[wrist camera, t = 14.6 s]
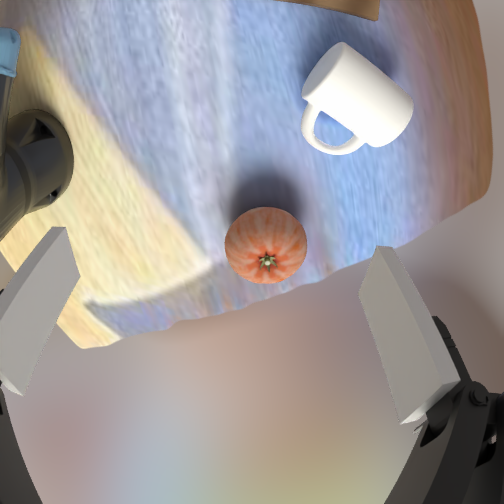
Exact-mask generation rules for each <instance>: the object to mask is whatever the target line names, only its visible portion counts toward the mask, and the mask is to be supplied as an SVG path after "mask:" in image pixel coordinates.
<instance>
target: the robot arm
mask: <svg viewBox="0 0 504 504" xmlns="http://www.w3.org/2000/svg"><path fill="white" fill-rule="evenodd" d="M20 45H21V39H20V35H19V34H18V32H17V31H16V30H14V29H11V28H3V27H0V241H1V240H2V239H3V238H4V237H5V236H6V234H7V233H8V232H9V231H10V230H11V229H12V228H13V227H14V226H15V224H16V223H17V222H18V221H19V220H20V219H21V218H22V217H23V216H24V215H26V214H28V213H31V212H34V211H36V210H39V209H42V208H44V207H47V206H49V205H50V204H52V203H53V202H55V201H56V200H57V199H58V198H59V197H60V196H61V195H62V194H63V193H64V192H65V190H66V189H67V187H68V185H69V183H70V181H71V178H72V174H73V165H74V160H73V151H72V146H71V143H70V140H69V138H68V135H67V133H66V131H65V130H64V128H63V127H62V125H61V124H60V123H59V122H58V121H57V120H56V119H55V118H54V117H53V116H52V115H50V114H48V113H47V112H44V111H41V110H27V111H24V112H22V113H20V114H17V115H15V116H13V117H12V118H10V119H9V120H8V115H9V107H10V99H11V93H12V87H13V82H14V77H16V75H17V72H16V66H17V60H18V55H19V50H20ZM79 278H80V274H79V271H78V268H77V265H76V261H75V258H74V255H73V251H72V248H71V245H70V241H69V237H68V234H67V230H66V227H52V228H51V229H50V230H49V231H48V232H47V234H46V235H45V236H44V237H43V238H42V240H41V241H40V242H39V243H38V245H37V246H36V247H35V248H34V250H33V251H32V252H31V253H30V255H29V256H28V257H27V259H26V260H25V261H24V262H23V264H22V265H21V267H20V268H19V269H18V271H17V272H16V273H15V275H14V276H13V278H12V279H11V280H10V282H9V283H8V285H7V286H6V288H5V289H2V290H1V291H0V386H1V384H2V383H3V384H4V385H5V386H6V387H7V388H8V389H9V390H10V391H12V392H14V393H16V394H19V395H22V396H24V395H25V392H26V390H27V387H28V384H29V382H30V379H31V377H32V374H33V372H34V369H35V367H36V364H37V362H38V360H39V357H40V355H41V353H42V351H43V349H44V346H45V344H46V342H47V340H48V338H49V336H50V334H51V331H52V329H53V327H54V325H55V323H56V321H57V319H58V317H59V315H60V313H61V311H62V309H63V307H64V305H65V304H66V302H67V300H68V298H69V296H70V294H71V292H72V291H73V289H74V287H75V285H76V283H77V282H78V280H79ZM358 296H359V298H360V301H361V304H362V306H363V309H364V312H365V315H366V318H367V320H368V323H369V326H370V329H371V332H372V335H373V338H374V340H375V343H376V346H377V349H378V353H379V356H380V359H381V362H382V365H383V368H384V371H385V374H386V377H387V381H388V384H389V387H390V391H391V394H392V398H393V401H394V405H395V409H396V412H397V416H398V420H399V423H400V424H402V423H407V422H412V421H416V420H418V419H419V418H420V417H421V416H423V415H424V414H425V413H426V415H427V418H428V419H427V420H426V421H425V422H423V423H422V424H421V425H420V426H418V427H417V428H416V429H415V430H414V432H413V433H414V434H415V433H417V432H418V431H420V430H421V432H420V434H419V435H418V438H417V441H416V443H415V445H414V447H413V450H412V452H411V454H410V456H409V458H408V460H407V463H406V465H405V467H404V468H403V471H402V473H401V474H400V476H399V478H398V480H397V482H396V484H395V486H394V487H393V489H392V491H391V493H390V495H389V496H388V498H387V500H386V501H385V503H384V504H504V392H503V393H502V394H497V393H489V392H488V391H487V389H486V388H485V387H484V386H483V385H482V384H481V383H479V382H476V381H473V382H472V380H471V378H470V376H469V374H468V372H467V369H466V367H465V365H464V362H463V360H462V358H461V356H460V354H459V352H458V349H457V348H455V346H456V345H455V343H454V341H453V339H451V335H450V333H449V331H448V329H447V327H446V325H445V324H444V323H443V322H442V321H441V320H440V319H439V318H438V317H437V316H431V315H430V313H429V311H428V309H427V307H426V305H425V304H424V302H423V300H422V298H421V296H420V294H419V292H418V291H417V289H416V287H415V285H414V283H413V282H412V280H411V278H410V276H409V275H408V273H407V271H406V269H405V268H404V266H403V264H402V263H401V261H400V259H399V258H398V256H397V255H396V253H395V251H394V250H393V248H392V247H387V246H376V249H375V252H374V254H373V257H372V260H371V262H370V265H369V267H368V270H367V272H366V275H365V277H364V280H363V282H362V285H361V287H360V290H359V292H358ZM494 435H496V442H494V443H493V444H492V441H491V438H492V437H493V436H494ZM0 504H42V501H41V499H40V497H39V496H38V493H37V491H36V489H35V486H34V484H33V482H32V480H31V477H30V475H29V473H28V470H27V468H26V465H25V463H24V460H23V457H22V455H21V452H20V449H19V446H18V443H17V440H16V437H15V434H14V431H13V428H12V424H11V421H10V417H9V413H8V410H7V406H6V402H5V398H4V394H3V391H2V389H1V388H0Z"/></svg>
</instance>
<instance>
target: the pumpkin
mask: <svg viewBox="0 0 504 504" xmlns="http://www.w3.org/2000/svg"><path fill="white" fill-rule="evenodd" d="M225 252H226V256H227V259H228V261H229V263H230V265H231V267H232V268H233V270H234V271H235V272H237V273H238V274H239V275H240V276H242V277H243V278H245V279H247V280H249V281H252V282H254V283H266V284H270V283H276V282H280V281H283V280H285V279H286V278H288V277H289V276H291V275H292V274H294V273H295V272H296V271H297V270H298V268H299V267H300V266H301V264H302V263H303V261H304V259H305V257H306V252H307V239H306V234H305V231H304V228H303V227H302V225H301V224H300V223H299V221H298V220H297V219H296V218H295V217H293V216H292V215H291V214H290V213H288V212H286V211H284V210H282V209H279V208H274V207H258V208H254V209H251V210H249V211H247V212H245V213H243V214H242V215H241V216H239V217H238V218H237V219H236V220H235V221H234V222H233V223H232V225H231V226H230V228H229V230H228V232H227V234H226V237H225Z"/></svg>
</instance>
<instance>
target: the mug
mask: <svg viewBox="0 0 504 504" xmlns="http://www.w3.org/2000/svg"><path fill="white" fill-rule="evenodd" d="M301 96H302V98H303V99H305V100H307V101H308V104H307V106H306V108H305V110H304V112H303V115H302V119H301V131H302V134H303V136H304V138H305V139H306V140H307V141H308V143H310V144H311V145H312V146H313V147H315V148H316V149H318V150H320V151H322V152H325V153H329V154H334V155H343V154H348V153H351V152H353V151H355V150H357V149H358V148H359V147H360V146H362V145H363V144H364V143H365V142H366V143H368V144H369V145H371V146H373V147H380V146H384V145H386V144H388V143H390V142H391V141H393V140H394V139H395V138H396V137H398V136H399V135H400V134H401V132H402V131H403V130H404V129H405V127H406V126H407V124H408V123H409V121H410V118H411V116H412V113H413V101H412V98H411V97H410V96H409V95H408V94H407V93H406V92H405V91H404V90H403V89H402V88H400V87H399V86H398V85H397V84H396V83H395V82H394V81H393V80H391V79H390V78H389V77H388V76H387V75H386V74H384V73H383V72H382V71H381V70H380V69H378V68H377V67H376V66H375V65H374V64H372V63H371V62H370V61H369V60H367V59H366V58H365V57H363V56H362V55H361V54H360V53H358V52H357V51H356V50H354V49H353V48H351V47H350V46H349V45H347V44H346V43H344V42H339V43H337V44H335V45H334V46H332V47H331V48H330V49H329V50H328V51H327V52H326V53H325V54H324V55H323V56H322V57H321V59H320V60H319V61H318V62H317V64H316V65H315V66H314V68H313V69H312V71H311V72H310V74H309V76H308V77H307V79H306V81H305V83H304V85H303V88H302V92H301ZM320 111H323V112H325V113H326V114H328V115H329V116H331V117H332V118H334V119H335V120H337V121H338V122H339V123H341V124H342V125H344V126H345V127H346V128H348V129H349V130H351V131H352V132H353V133H354V135H353V136H352V137H351V138H350V139H349V140H348V141H347V142H346V143H344V144H342V145H339V146H331V145H328V144H325V143H323V142H322V141H320V140H319V139H317V138H316V136H315V135H314V123H315V120H316V118H317V115H318V113H319V112H320Z"/></svg>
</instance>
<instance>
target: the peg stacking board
mask: <svg viewBox="0 0 504 504" xmlns="http://www.w3.org/2000/svg"><path fill="white" fill-rule="evenodd" d="M276 1H284V2H291V3H298V4H304V5H310V6H315V7H320V8H325V9H330V10H334V11H338V12H343V13H347V14H350V15H354V16H358V17H361V18H365V19H368V20H372V21H377V20H378V14H379V4H380V0H276Z"/></svg>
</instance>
